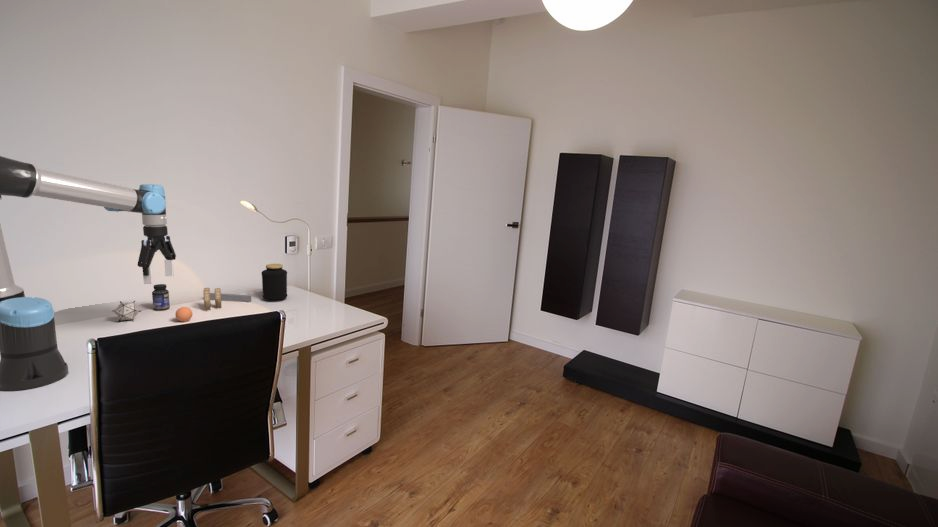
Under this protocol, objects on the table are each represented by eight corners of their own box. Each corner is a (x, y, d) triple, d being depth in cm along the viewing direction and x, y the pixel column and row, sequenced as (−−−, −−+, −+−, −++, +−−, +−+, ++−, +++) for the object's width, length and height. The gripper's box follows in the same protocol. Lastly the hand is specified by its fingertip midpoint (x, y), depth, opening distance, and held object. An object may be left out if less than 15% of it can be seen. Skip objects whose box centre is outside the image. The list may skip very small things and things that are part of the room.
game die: (129, 330, 179) (121, 316, 172) (112, 321, 180) (103, 306, 173) (148, 315, 185) (141, 301, 178) (132, 306, 186) (124, 291, 179)
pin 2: (219, 308, 201) (218, 289, 200) (214, 308, 201) (213, 289, 200) (222, 307, 204) (221, 288, 202) (217, 306, 204) (216, 288, 202)
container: (259, 297, 222) (258, 263, 219) (283, 295, 229) (284, 262, 226) (264, 304, 213) (264, 268, 209) (290, 301, 220) (290, 266, 216)
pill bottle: (167, 310, 195) (166, 286, 193) (151, 311, 192) (149, 287, 190) (171, 306, 200) (169, 283, 198) (155, 307, 198) (153, 283, 196)
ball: (186, 323, 180) (186, 309, 178) (172, 322, 180) (171, 308, 178) (196, 319, 185) (195, 305, 184) (182, 318, 185) (181, 304, 184)
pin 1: (208, 308, 201) (207, 289, 200) (203, 307, 201) (202, 288, 200) (211, 306, 204) (210, 287, 202) (206, 306, 204) (205, 287, 202)
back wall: (249, 302, 214) (249, 296, 213) (204, 299, 214) (204, 293, 213) (251, 301, 216) (251, 295, 215) (207, 298, 216) (206, 292, 215)
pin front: (208, 311, 197) (207, 291, 195) (203, 310, 197) (202, 291, 195) (211, 309, 199) (210, 290, 198) (206, 309, 199) (205, 290, 198)
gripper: (144, 229, 154) (149, 287, 158) (183, 222, 179) (187, 273, 183) (121, 228, 154) (127, 287, 158) (164, 221, 178) (167, 272, 182)
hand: (159, 279), depth 170 cm, fingers open, 13 cm apart
